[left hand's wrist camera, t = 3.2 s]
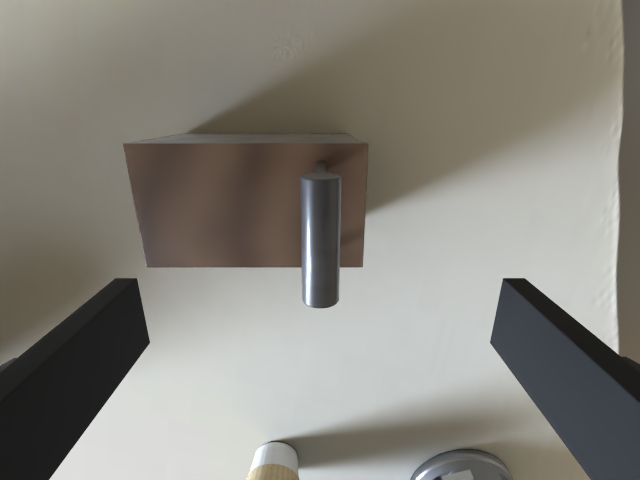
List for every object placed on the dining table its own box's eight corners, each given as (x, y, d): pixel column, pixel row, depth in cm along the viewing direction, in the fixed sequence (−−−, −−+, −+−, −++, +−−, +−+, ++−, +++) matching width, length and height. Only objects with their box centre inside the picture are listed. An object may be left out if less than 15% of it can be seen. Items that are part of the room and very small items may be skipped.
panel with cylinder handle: (366, 142, 25) (390, 157, 17) (361, 262, 28) (378, 325, 20) (130, 142, 25) (35, 157, 17) (152, 262, 28) (82, 325, 20)
